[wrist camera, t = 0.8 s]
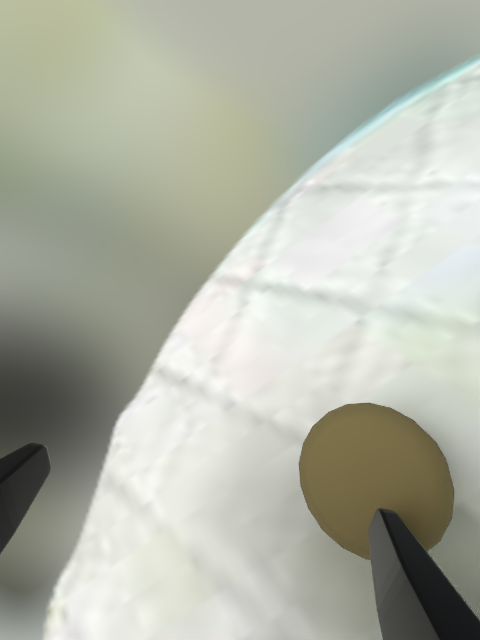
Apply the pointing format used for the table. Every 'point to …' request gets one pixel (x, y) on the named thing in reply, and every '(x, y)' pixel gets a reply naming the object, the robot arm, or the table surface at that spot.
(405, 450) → the cork
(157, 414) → the table surface
